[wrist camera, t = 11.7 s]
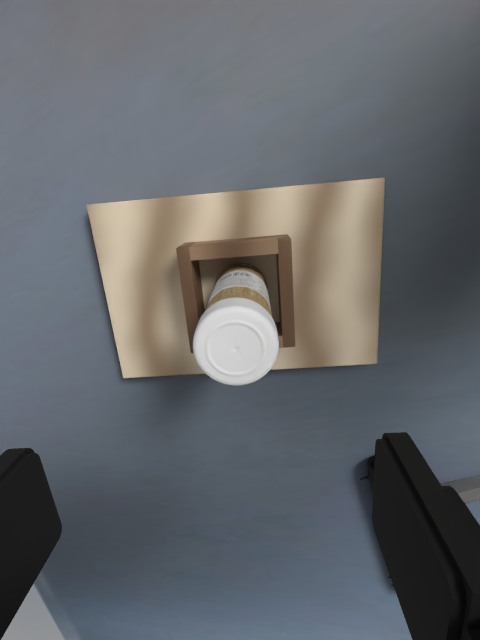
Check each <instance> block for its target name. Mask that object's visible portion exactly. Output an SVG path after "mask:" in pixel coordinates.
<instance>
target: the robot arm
mask: <svg viewBox="0 0 480 640" xmlns="http://www.w3.org/2000/svg"><path fill="white" fill-rule="evenodd" d="M372 519H373V526H374V531H375V534H376V537H377V539H378V542H379V545H380V548H381V551H382V554H383V557H384V559H385V562H386V565H387V568H388V571H389V574H390V577H391V579H392V582H393V585H394V588H395V591H396V594H397V597H398V599H399V602H400V605H401V608H402V611H403V614H404V617H405V619H406V622H407V625H408V628H409V631H410V634H411V637H412V639H413V640H480V525H479V524H478V522H477V521H476V519H475V518H474V517H473V515H472V514H471V512H470V511H469V509H468V508H467V506H466V505H465V503H464V502H463V500H462V499H461V497H460V496H459V494H458V493H457V492H456V491H455V489H454V488H452V487H451V486H441V484H440V483H439V481H438V480H437V478H436V477H435V475H434V473H433V472H432V470H431V469H430V467H429V466H428V464H427V462H426V461H425V459H424V458H423V456H422V455H421V453H420V451H419V450H418V448H417V447H416V445H415V444H414V442H413V440H412V439H411V437H410V436H409V435H408V433H406V432H402V433H384V434H383V437H382V439H377V440H376V446H375V468H374V490H373V512H372ZM61 530H62V525H61V521H60V518H59V515H58V512H57V509H56V506H55V503H54V500H53V497H52V494H51V491H50V487H49V484H48V481H47V478H46V475H45V472H44V469H43V466H42V463H41V460H40V457H39V455H38V454H37V453H34V451H33V450H32V449H31V448H18V449H8V450H6V451H5V452H4V453H3V454H2V455H1V456H0V640H1V638H2V637H3V635H4V633H5V631H6V630H7V628H8V626H9V625H10V623H11V621H12V619H13V618H14V616H15V614H16V613H17V611H18V609H19V607H20V606H21V604H22V602H23V600H24V598H25V597H26V595H27V593H28V592H29V590H30V588H31V586H32V585H33V583H34V581H35V580H36V578H37V576H38V575H39V573H40V571H41V569H42V568H43V566H44V564H45V562H46V561H47V559H48V557H49V556H50V554H51V552H52V550H53V549H54V547H55V545H56V543H57V542H58V540H59V538H60V535H61Z"/></svg>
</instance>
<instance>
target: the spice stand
mask: <svg viewBox="0 0 480 640" xmlns="http://www.w3.org/2000/svg"><path fill="white" fill-rule="evenodd" d="M384 186H385V178H375V179H364V180H353V181H342V182H331V183H320V184H309V185H298V186H287V187H276V188H265V189H254V190H243V191H232V192H221V193H210V194H199V195H189V196H178V197H167V198H156V199H145V200H134V201H123V202H112V203H101V204H90V205H87V209H88V214H89V219H90V223H91V228H92V233H93V237H94V242H95V247H96V252H97V256H98V261H99V266H100V270H101V275H102V280H103V285H104V289H105V294H106V299H107V303H108V308H109V313H110V318H111V322H112V327H113V332H114V336H115V341H116V346H117V351H118V355H119V360H120V365H121V369H122V374H123V378H134V377H152V376H170V375H187V374H205V372H204V371H203V370H202V369H201V368H200V366H199V365H198V363H197V361H196V359H195V356H194V352H193V337H194V333H195V330H196V327H197V324H198V322H199V320H200V318H201V316H202V315H203V313H204V312H205V311H206V309H207V306H208V303H209V299H210V297H211V295H212V292H213V290H214V287H215V285H216V280H217V278H218V276H219V274H220V273H221V272H222V271H223V270H224V269H225V268H226V267H228V266H230V265H232V264H235V263H248V264H251V265H253V266H255V267H257V268H258V269H259V270H260V271H261V272H262V274H263V275H264V276H265V278H266V281H267V291H268V296H269V302H270V307H271V313H272V318H273V320H274V322H275V325H276V328H277V333H278V340H279V350H278V355H277V359H276V361H275V363H274V365H273V366H272V368H271V369H270V370H275V369H293V368H310V367H328V366H345V365H363V364H377V352H378V328H379V305H380V281H381V257H382V233H383V209H384Z"/></svg>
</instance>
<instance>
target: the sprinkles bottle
mask: <svg viewBox="0 0 480 640" xmlns="http://www.w3.org/2000/svg"><path fill="white" fill-rule="evenodd" d="M278 350H279V340H278V333H277V328H276V325H275V322H274V320H273V318H272V313H271V307H270V302H269V296H268V291H267V281H266V278H265V276H264V275H263V274H262V272H261V271H260V270H259V269H258V268H257V267H255V266H253V265H251V264H248V263H235V264H232V265H230V266H228V267H226V268H225V269H224V270H223V271H222V272H221V273H220V274H219V276H218V278H217V280H216V285H215V287H214V290H213V292H212V295H211V297H210V299H209V303H208V306H207V309H206V311H205V312H204V313H203V315H202V316H201V318H200V320H199V322H198V324H197V327H196V330H195V333H194V337H193V352H194V356H195V359H196V361H197V363H198V365H199V366H200V368H201V369H202V370H203V371H204V372H205V373H206V374H207V375H208V376H209V377H211V378H212V379H214V380H216V381H218V382H220V383H223V384H228V385H245V384H249V383H252V382H255V381H257V380H259V379H260V378H262V377H263V376H265V375H266V374H267V373H268V372H269V371H270V369H271V368H272V366H273V365H274V363H275V361H276V359H277V355H278Z"/></svg>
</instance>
